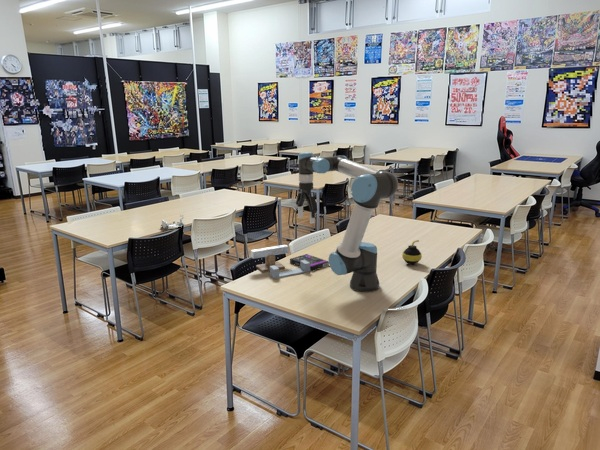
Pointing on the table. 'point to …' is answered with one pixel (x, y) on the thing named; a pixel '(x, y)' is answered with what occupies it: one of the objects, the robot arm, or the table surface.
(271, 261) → the stand
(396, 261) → the table surface
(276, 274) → the rack
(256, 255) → the bar
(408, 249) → the bomb
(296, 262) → the box
